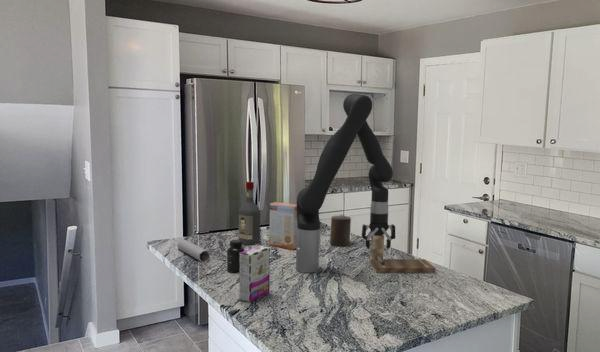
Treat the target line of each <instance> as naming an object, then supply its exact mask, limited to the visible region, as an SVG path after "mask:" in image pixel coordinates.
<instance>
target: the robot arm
mask: <svg viewBox="0 0 600 352" xmlns="http://www.w3.org/2000/svg"><path fill="white" fill-rule="evenodd" d="M342 107H343V111H344V112H345V114H346V119H345V120H344V123H343V124H342V125H341V126H340V127H339V129H338V130H337V131H336V132H334V133H333V134H332V136H330V137H329V139H328V140H327V141H326V144H325V146H324V148H323V150H322V151H321V154H320V156H319V159H318V162H317V166H316V170H315V173H314V175H313V178H312V181H311V182H310V183H309V185H308V187H305V188H302V189H301V190H299V192H298V194H297V196H296V205H297V245H296V249H295V269H296V272H298V273H299V272H301V273H307V274H310V273H317V272H319V270H320V269H319V268H320V243H321V220H320V209H321V208H322V206H323V204H324V201H325V199H326V196H327V194H328V192H329V189H330V186H331V184H332V183H333V181H334V179H335V177H336V175H337V174H338V173H339V170H340V168H341V166H342V165H343V163H344V161H345V159H346V157H347V155H348V153H349V151H350V149H351V147H352V145H353V143H354V141H355V140H356V138H357V137H358V140H359V143H360V145H361V148H362V149H363V152H364V157H365V158H366V160H367V162H368V163H369V164H371V166H370V168H369V170H368V181H369V184H370V185H369V186H370V189H371V203H370V208H369V210H370V215H369V216H370V217H369V224H365V223H364V224H362V229H361V238H362V239H363V240H365V247H366V249H368V250H369V249H370V250H371V237H372V236H373V235H384V237H386V245H385V246H386V249H387V250H389V249H390V248H391V245H392V240H395V239H396V226H395V224H393V223H391V224H389V189H388V188H387V187H385V186H384V185H383V183H389V182H390V181H391V180H392V178H393V177H394V172H393V168H392V165H391V164H390V163H389V161H388V159H387V158H386V157H385V155H384V154H383V150H382V147H381V144H380V142H379V139H378V138H377V136H376V134H375V133H374V131H373V130H372V128H371V127H370V125H369V124H368V121H367V119H368V118H369V117H370V114H371V113H372V110H373V101H372V99H371V97H370V96H368V95H366V94H360V93H351V94H348V95H347V96H346V97H345V98H344V99H343V106H342ZM368 229H369V232H368V234H367V231H368ZM388 230H390V234H389V233H388V232H387V231H388ZM366 234H367V235H366Z"/></svg>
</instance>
